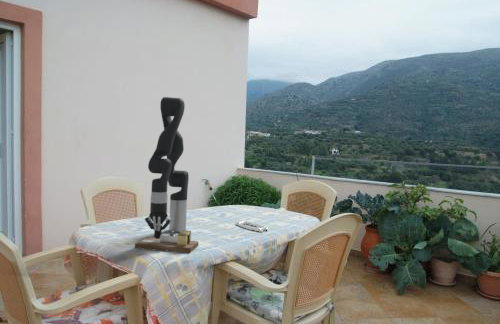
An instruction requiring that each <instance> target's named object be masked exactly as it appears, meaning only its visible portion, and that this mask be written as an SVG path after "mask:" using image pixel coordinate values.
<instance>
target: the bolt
mask: <svg viewBox="0 0 500 324" xmlns="http://www.w3.org/2000/svg"><path fill="white" fill-rule="evenodd" d="M177 239H178V234H175V232H174V231H169V233H161V235H160V242H170V243H177Z"/></svg>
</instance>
